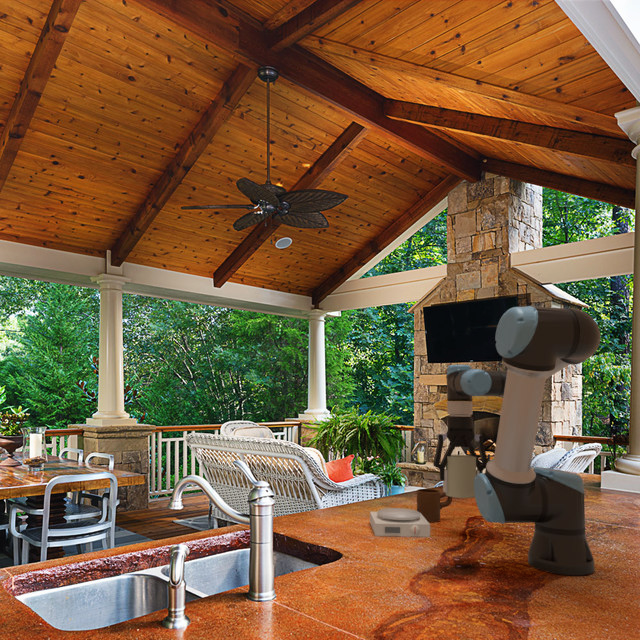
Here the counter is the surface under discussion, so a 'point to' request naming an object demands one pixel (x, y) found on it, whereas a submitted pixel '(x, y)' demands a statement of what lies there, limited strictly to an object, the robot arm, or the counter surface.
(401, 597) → the counter surface
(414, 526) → the scale
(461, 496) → the can
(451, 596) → the counter surface
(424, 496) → the mug
